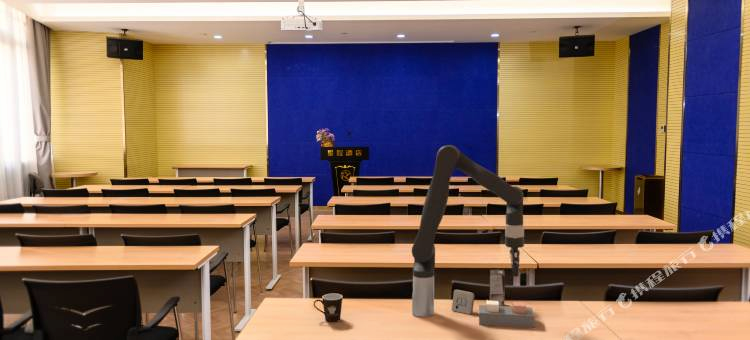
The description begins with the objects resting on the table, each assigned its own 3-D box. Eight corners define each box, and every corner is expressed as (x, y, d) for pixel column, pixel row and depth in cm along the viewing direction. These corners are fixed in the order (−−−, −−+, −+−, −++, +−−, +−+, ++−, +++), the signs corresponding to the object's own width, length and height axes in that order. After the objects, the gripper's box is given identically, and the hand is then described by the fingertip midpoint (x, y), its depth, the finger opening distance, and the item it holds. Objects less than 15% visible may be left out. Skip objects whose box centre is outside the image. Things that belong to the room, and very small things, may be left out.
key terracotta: (513, 317, 233) (513, 305, 233) (512, 313, 238) (513, 301, 238) (526, 318, 232) (526, 306, 232) (525, 313, 237) (525, 302, 237)
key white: (486, 315, 235) (486, 304, 235) (486, 311, 240) (486, 300, 240) (498, 316, 234) (498, 304, 234) (498, 312, 239) (498, 300, 239)
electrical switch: (451, 310, 250) (452, 290, 250) (456, 308, 255) (457, 288, 254) (470, 315, 245) (471, 294, 245) (475, 313, 249) (476, 292, 249)
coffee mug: (346, 317, 243) (346, 295, 242) (336, 324, 235) (336, 301, 234) (322, 313, 248) (322, 291, 247) (312, 320, 240) (312, 297, 239)
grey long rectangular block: (479, 324, 234) (479, 312, 233) (479, 316, 243) (479, 304, 243) (533, 327, 230) (534, 315, 229) (531, 319, 239) (531, 307, 239)
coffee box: (504, 310, 250) (505, 275, 248) (489, 309, 251) (490, 274, 250) (504, 303, 259) (504, 269, 257) (489, 303, 260) (490, 268, 259)
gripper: (504, 231, 241) (504, 268, 242) (506, 238, 227) (506, 278, 228) (522, 231, 239) (522, 269, 241) (525, 238, 225) (525, 278, 227)
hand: (514, 273), depth 234 cm, fingers open, 8 cm apart
